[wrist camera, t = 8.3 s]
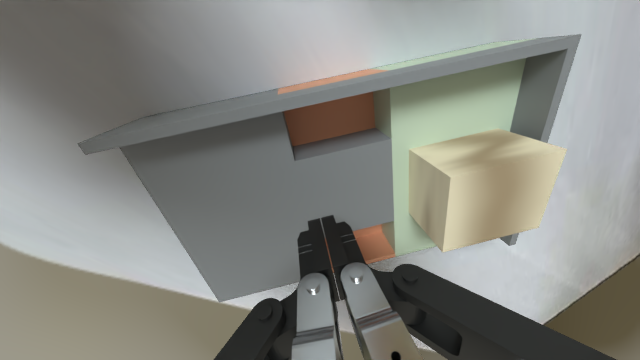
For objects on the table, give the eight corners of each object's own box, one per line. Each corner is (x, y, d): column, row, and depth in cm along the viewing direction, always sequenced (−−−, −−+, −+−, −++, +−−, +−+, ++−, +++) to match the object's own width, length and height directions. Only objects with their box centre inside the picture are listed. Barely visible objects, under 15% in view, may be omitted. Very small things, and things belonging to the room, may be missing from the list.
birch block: (498, 128, 15) (567, 149, 11) (485, 193, 17) (538, 227, 13) (408, 149, 14) (450, 177, 11) (408, 212, 17) (442, 252, 13)
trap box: (493, 42, 15) (581, 34, 11) (466, 211, 22) (513, 248, 17) (141, 118, 14) (77, 143, 10) (227, 271, 21) (212, 328, 16)
